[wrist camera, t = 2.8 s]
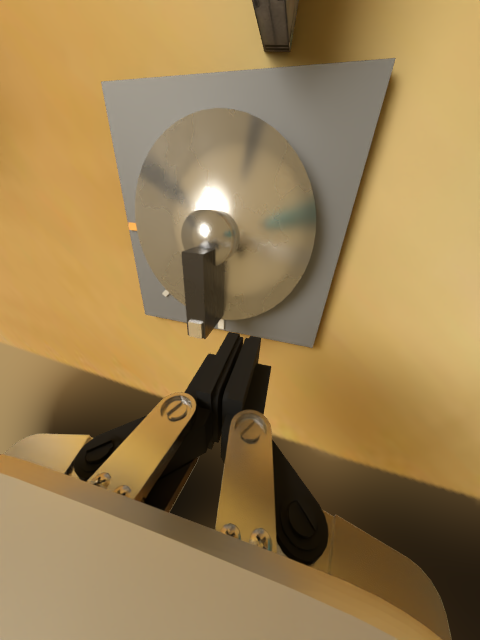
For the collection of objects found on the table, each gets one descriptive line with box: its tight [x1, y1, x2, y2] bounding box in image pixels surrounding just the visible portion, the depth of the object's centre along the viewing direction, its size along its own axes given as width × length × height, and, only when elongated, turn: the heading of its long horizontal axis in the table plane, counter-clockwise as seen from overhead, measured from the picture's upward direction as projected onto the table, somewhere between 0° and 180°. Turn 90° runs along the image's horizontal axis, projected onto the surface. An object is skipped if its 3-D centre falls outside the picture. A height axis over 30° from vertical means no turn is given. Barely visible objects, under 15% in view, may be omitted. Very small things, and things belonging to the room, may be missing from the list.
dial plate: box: [101, 58, 395, 348], centre depth 17 cm, size 18×18×1 cm
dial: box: [135, 108, 316, 339], centre depth 14 cm, size 14×14×5 cm
